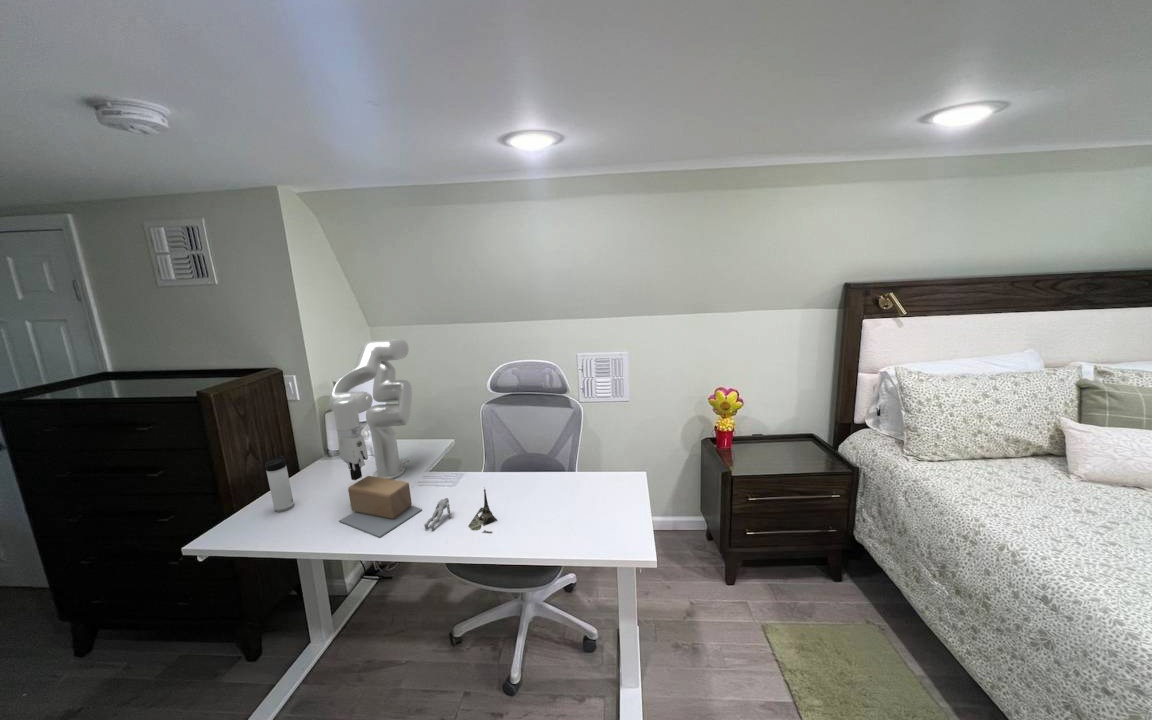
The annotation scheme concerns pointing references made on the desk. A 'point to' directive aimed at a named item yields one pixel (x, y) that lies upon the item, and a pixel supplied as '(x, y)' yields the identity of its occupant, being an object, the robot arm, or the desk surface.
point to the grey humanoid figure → (438, 512)
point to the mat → (378, 521)
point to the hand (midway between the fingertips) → (356, 478)
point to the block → (380, 497)
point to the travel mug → (279, 484)
